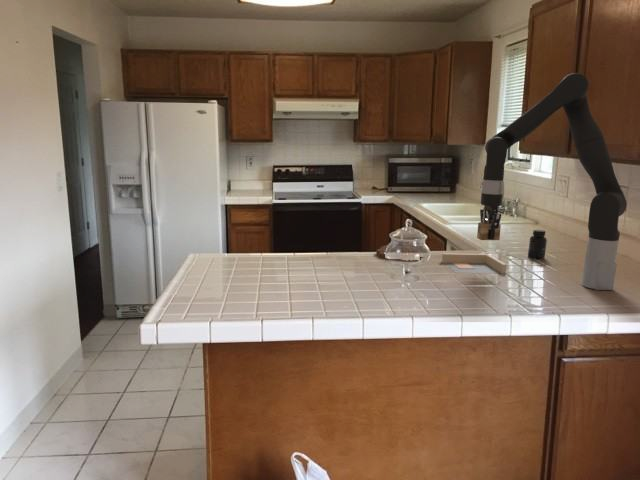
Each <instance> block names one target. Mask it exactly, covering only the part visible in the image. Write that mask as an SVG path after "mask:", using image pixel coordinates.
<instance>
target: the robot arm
mask: <svg viewBox="0 0 640 480" xmlns="http://www.w3.org/2000/svg"><path fill="white" fill-rule="evenodd" d="M589 85H590V83H589V80H588V78H587V76H586V75H584V74H582V73H578V72H574V73H570V74H567V75H566V76H565V77H563V78H562V80H561V81H560V82H559V83H558V84H557V85H556V86H555V87H554V88H553V89H552V90H551V91H550V92H549V93H548V94H547V95H546V96H545V97H543V98H542V99H541V100H540V101H539V102H537V103H536V104H535V105H534V106H532V107H531V108H529V109H528V110H527V111H526V112H524V113H523V114H522V115H520V116H519V117H517V118H516V119H515V120H514V121H512V122H511V123H510V124H509V125H508V126H507V127H506V128H503V129H502V130H501V131H499V132H498V133H497V134H495V135H493V136H492V137H491V138H489V139H488V140H487V142H486V143H485V145H484V146H485V147H484V150H485V153H486V157H485V158H486V160H485V161H486V162H485V165H484V169H483V178H482V179H483V180H482V185H481V195H480V205H481V206H484V207H483V208H480V210H479V212H480V222H483V223H488V224H489V230H488V239H490V240H489V241H494V240H493V239H494V235H495V229H498V227H499V224H501V218H502V213H499V211H498V209H499V208H498V207H501V206H502V205H503V196H504V176H505V165H506V159H507V154H508V150H509V149H510V148H511V147H512V146H514V145H515V144H517V143H519V142H521V141H522V140H524V139H525V138H527V136H529V135H530V134H532V133H533V132H534V131H536V130H537V129H538V128H539V127H540V126H541V125H542V124H544V123H545V122H546V120H548V119H549V118H550V117H551V116H552V115H553V114H554V113H556V112H557V111H559V110H560V109H561V108H562V109H563V110H564V113H565V115H566V117H567V119H568V123H569V129H570V134H571V137H572V141H573V145H574V148H575V151H576V154H577V157H578V159H579V162H580V164H581V166H582V167H583V169H584V170H585V172H586V173H587V175H589V178H590V180H591V181H592V184H593V186H594V189H595V194H596V195H595V196H594V197H593V198H592V200H591V201H590V206H589V212H588V221H587V222H588V224H587V229H588V238H587V246H586V253H585V260H584V267H583V268H584V269H583V274H582V281H581V282H582V283H581V285H582V286H583V287H586V288H588V289H592V290H595V291H614V285H615V278H616V273H617V266H618V264H617V262H616V261H617V255H618V249H619V248H618V247H619V242H620V241H619V240H620V235H621V233H620V231H619V217H621V216H622V215H623V214H624V213H625V212H626V210H627V203H628V202H627V199H626V197H625V194H624V192H623V190H622V188H621V186H620V184H619V182H618V179H617V176H616V173H615V170H614V166H613V163H612V160H611V157H610V153H609V149H608V146H607V143H606V139H605V137H604V134H603V131H602V130H601V129H600V126H599V125H598V123H597V121H596V120H595V119H594V117H593V115H592V113H591V110H590V107H589V102H588V97H587V93H588V91H589ZM496 223H497V224H496Z"/></svg>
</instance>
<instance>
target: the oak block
mask: <svg viewBox="0 0 640 480" xmlns="http://www.w3.org/2000/svg"><path fill="white" fill-rule="evenodd" d="M496 224H497V223H496ZM501 225H502V223H499V227H498V229H495V235H494V239H493V240H492V241H500V239H501ZM488 230H489V224H488V223H483V222H481V221H480V222H478V223H477V233H476V239H478V240H480V241H491V240H490V239H488Z"/></svg>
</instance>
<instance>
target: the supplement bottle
mask: <svg viewBox="0 0 640 480" xmlns="http://www.w3.org/2000/svg"><path fill="white" fill-rule="evenodd" d="M532 231H533V232H532V235H531V236H530V237H529V241H528V242H529V243H528V252H527V257H528V259H529V258H530V259H533V260H544V259H545V257H546V250H547V243H548V239H547V237H545V236H546V231H545V230H542V229H534V230H532Z"/></svg>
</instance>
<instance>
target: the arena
mask: <svg viewBox="0 0 640 480" xmlns="http://www.w3.org/2000/svg"><path fill="white" fill-rule="evenodd" d="M440 262H441V263H443V264H444V265H445V266H446V267H448V268H449V269H450V270H452V272H454V273H456V274H504V275H505V274H506V273H507V265H508V264H507V263H505V262H503V261H502V260H500V259H498V258H496V257H494V256H493V255H491V254H489V253H447V252H446V253H442V254H441V260H440Z"/></svg>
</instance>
